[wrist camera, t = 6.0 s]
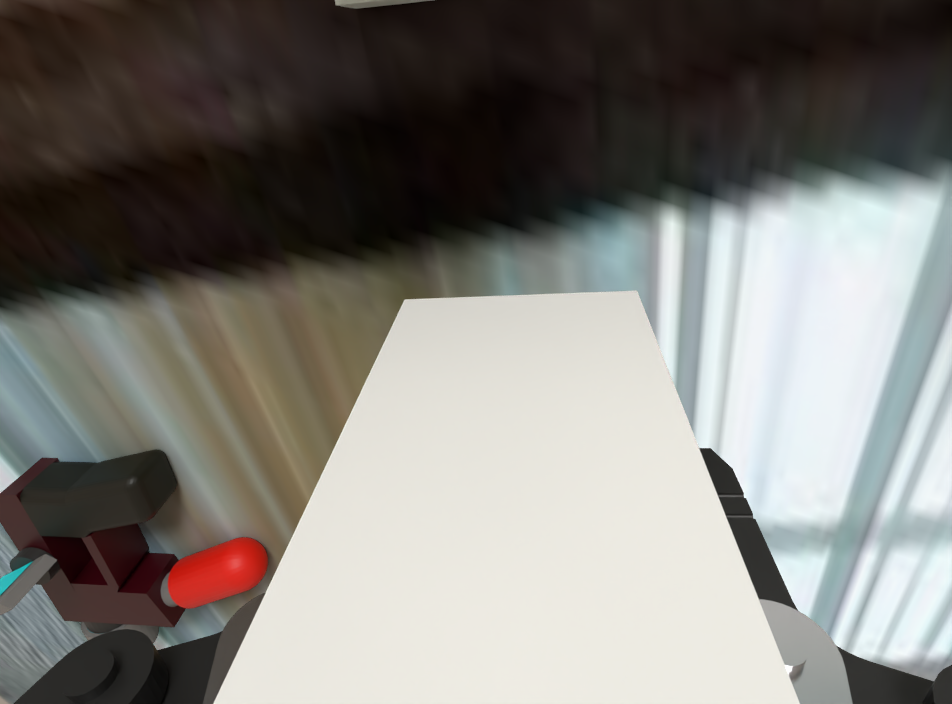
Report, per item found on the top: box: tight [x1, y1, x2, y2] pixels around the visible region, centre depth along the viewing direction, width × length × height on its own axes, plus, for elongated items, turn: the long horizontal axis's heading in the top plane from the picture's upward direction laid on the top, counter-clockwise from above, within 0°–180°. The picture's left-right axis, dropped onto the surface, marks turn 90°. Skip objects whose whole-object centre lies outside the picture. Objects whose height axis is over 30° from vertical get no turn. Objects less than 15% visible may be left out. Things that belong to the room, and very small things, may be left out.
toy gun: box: [0, 450, 268, 643], centre depth 22 cm, size 10×12×5 cm
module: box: [213, 291, 800, 704], centre depth 8 cm, size 4×6×7 cm, turn 4°
